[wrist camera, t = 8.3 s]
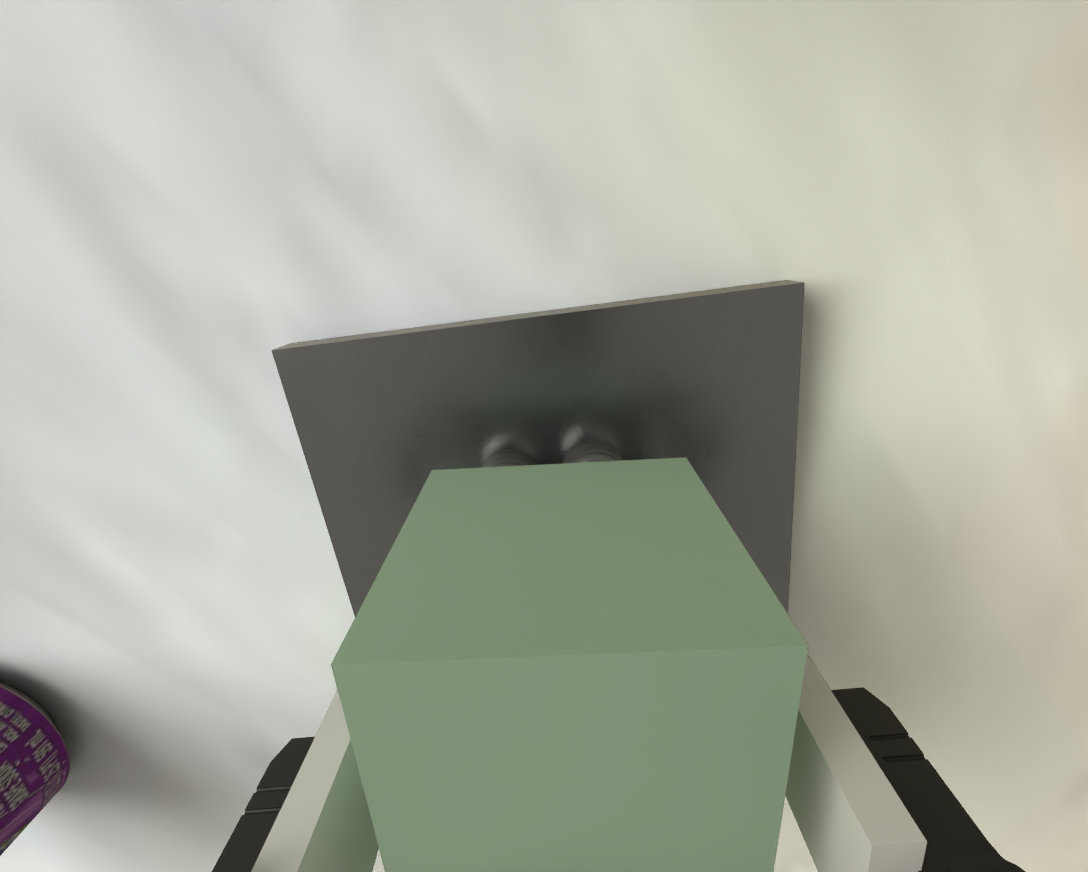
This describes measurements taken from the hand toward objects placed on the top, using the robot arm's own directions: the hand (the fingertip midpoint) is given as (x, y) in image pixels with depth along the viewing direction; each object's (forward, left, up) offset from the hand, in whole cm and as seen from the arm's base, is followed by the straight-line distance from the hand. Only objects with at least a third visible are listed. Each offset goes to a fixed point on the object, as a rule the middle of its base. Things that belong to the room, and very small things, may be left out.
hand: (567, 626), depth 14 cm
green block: (0, 0, 0) cm, 0 cm away
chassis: (0, 0, -3) cm, 3 cm away
